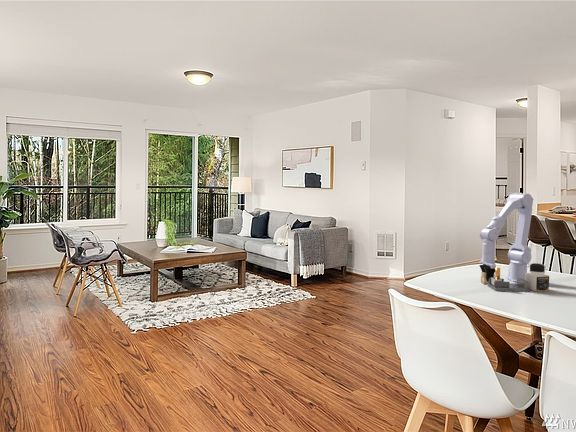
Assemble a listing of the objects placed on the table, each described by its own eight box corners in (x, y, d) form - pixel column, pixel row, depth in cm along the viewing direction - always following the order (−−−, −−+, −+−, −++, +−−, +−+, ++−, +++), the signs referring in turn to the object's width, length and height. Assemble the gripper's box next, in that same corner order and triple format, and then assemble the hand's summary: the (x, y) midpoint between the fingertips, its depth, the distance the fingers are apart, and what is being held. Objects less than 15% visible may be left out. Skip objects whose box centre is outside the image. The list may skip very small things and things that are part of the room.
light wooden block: (480, 282, 222) (481, 271, 222) (491, 282, 222) (491, 271, 221) (483, 284, 218) (484, 273, 218) (494, 284, 218) (494, 273, 217)
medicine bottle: (536, 291, 203) (537, 265, 202) (524, 288, 210) (525, 263, 209) (549, 290, 205) (550, 264, 204) (536, 287, 212) (537, 262, 211)
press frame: (487, 286, 214) (487, 276, 214) (519, 286, 213) (519, 277, 213) (495, 291, 204) (495, 281, 204) (528, 291, 203) (529, 281, 203)
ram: (490, 283, 212) (491, 266, 211) (497, 283, 211) (497, 266, 211) (494, 285, 207) (495, 268, 206) (501, 286, 206) (502, 268, 206)
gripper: (475, 250, 227) (474, 277, 227) (485, 255, 212) (484, 283, 213) (489, 250, 226) (488, 277, 227) (500, 255, 212) (499, 283, 212)
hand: (487, 280), depth 220 cm, fingers closed on light wooden block, 4 cm apart
